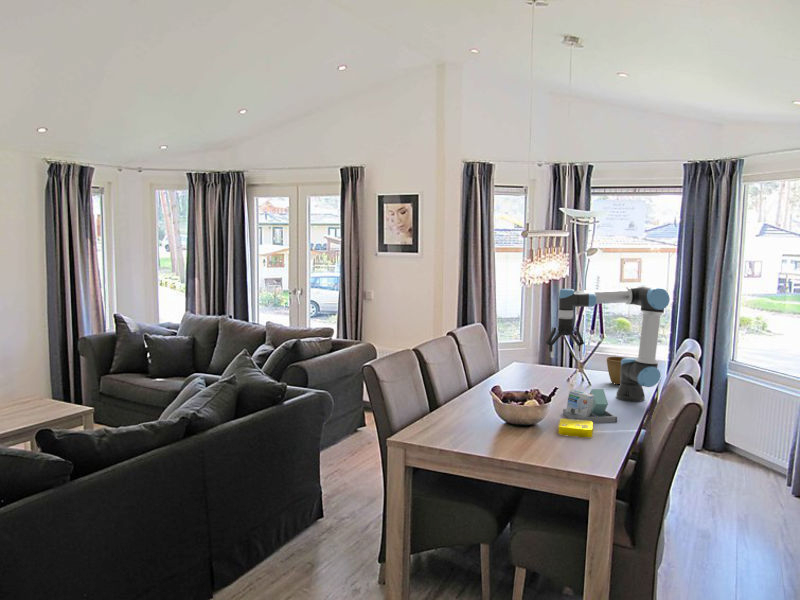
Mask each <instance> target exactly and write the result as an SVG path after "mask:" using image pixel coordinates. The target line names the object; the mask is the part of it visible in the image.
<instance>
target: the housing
mask: <svg viewBox="0 0 800 600" xmlns="http://www.w3.org/2000/svg"><path fill="white" fill-rule="evenodd" d="M562 414H563V415H564V416H565V417H566V418H567V419H575V420H585V421H592V422H593V424H595V423H596V424H597V423H618V416H616V415H615V414H613V413H612V412H610V411H608V410H607V409H605V411H604V414H603V415H595V414H594V413H592V412H591V415H590V416H588V417H583V416H580V415H577V414H573V413H570V412H567V411H566V408H563V410H562Z"/></svg>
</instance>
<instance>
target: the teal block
mask: <svg viewBox="0 0 800 600" xmlns="http://www.w3.org/2000/svg"><path fill="white" fill-rule="evenodd" d="M589 394H593V395H594V399H593V404H592V410H591V412H592V413H594V414H595V415H603V414H604V411H605V410H607V408H608V405H609V403H608V400H607V397H606V396H607V395H606V393H605V390H604V388H592V389H591V390H590V392H589Z"/></svg>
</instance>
